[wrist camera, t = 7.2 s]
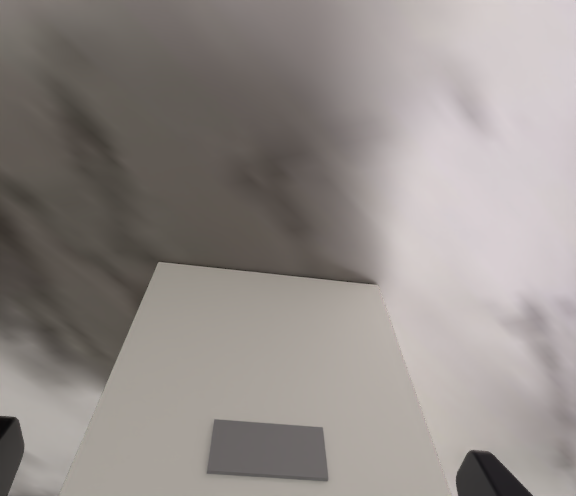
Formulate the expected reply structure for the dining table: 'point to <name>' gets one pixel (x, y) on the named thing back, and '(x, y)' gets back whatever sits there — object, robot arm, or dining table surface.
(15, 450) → the robot arm
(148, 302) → the block
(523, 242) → the dining table surface
